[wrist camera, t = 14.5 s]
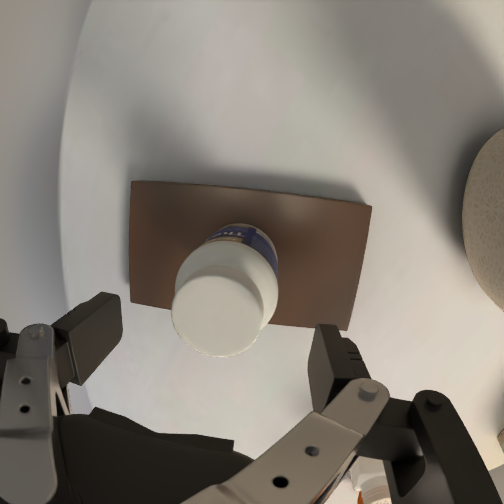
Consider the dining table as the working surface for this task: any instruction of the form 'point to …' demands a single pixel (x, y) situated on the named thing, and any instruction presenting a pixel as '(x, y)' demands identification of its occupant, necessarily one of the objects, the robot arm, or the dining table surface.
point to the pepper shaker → (370, 480)
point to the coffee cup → (501, 440)
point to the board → (268, 221)
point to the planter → (486, 218)
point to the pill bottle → (226, 291)
